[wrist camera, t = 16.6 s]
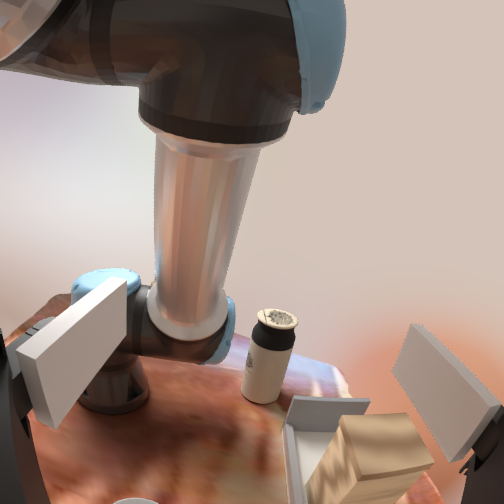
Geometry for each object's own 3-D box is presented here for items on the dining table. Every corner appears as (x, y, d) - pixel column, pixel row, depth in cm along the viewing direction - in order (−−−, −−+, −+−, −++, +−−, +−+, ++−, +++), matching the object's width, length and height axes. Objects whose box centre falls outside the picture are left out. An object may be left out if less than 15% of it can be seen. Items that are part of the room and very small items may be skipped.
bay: (281, 430, 46) (293, 395, 44) (351, 431, 47) (368, 398, 45) (292, 554, 21) (316, 534, 19) (387, 540, 21) (421, 514, 19)
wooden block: (303, 484, 33) (341, 415, 29) (359, 480, 33) (406, 412, 30) (310, 533, 24) (362, 475, 20) (373, 525, 24) (434, 462, 20)
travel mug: (278, 384, 60) (298, 312, 56) (278, 407, 52) (301, 330, 48) (242, 378, 60) (257, 304, 56) (238, 400, 53) (254, 322, 49)
